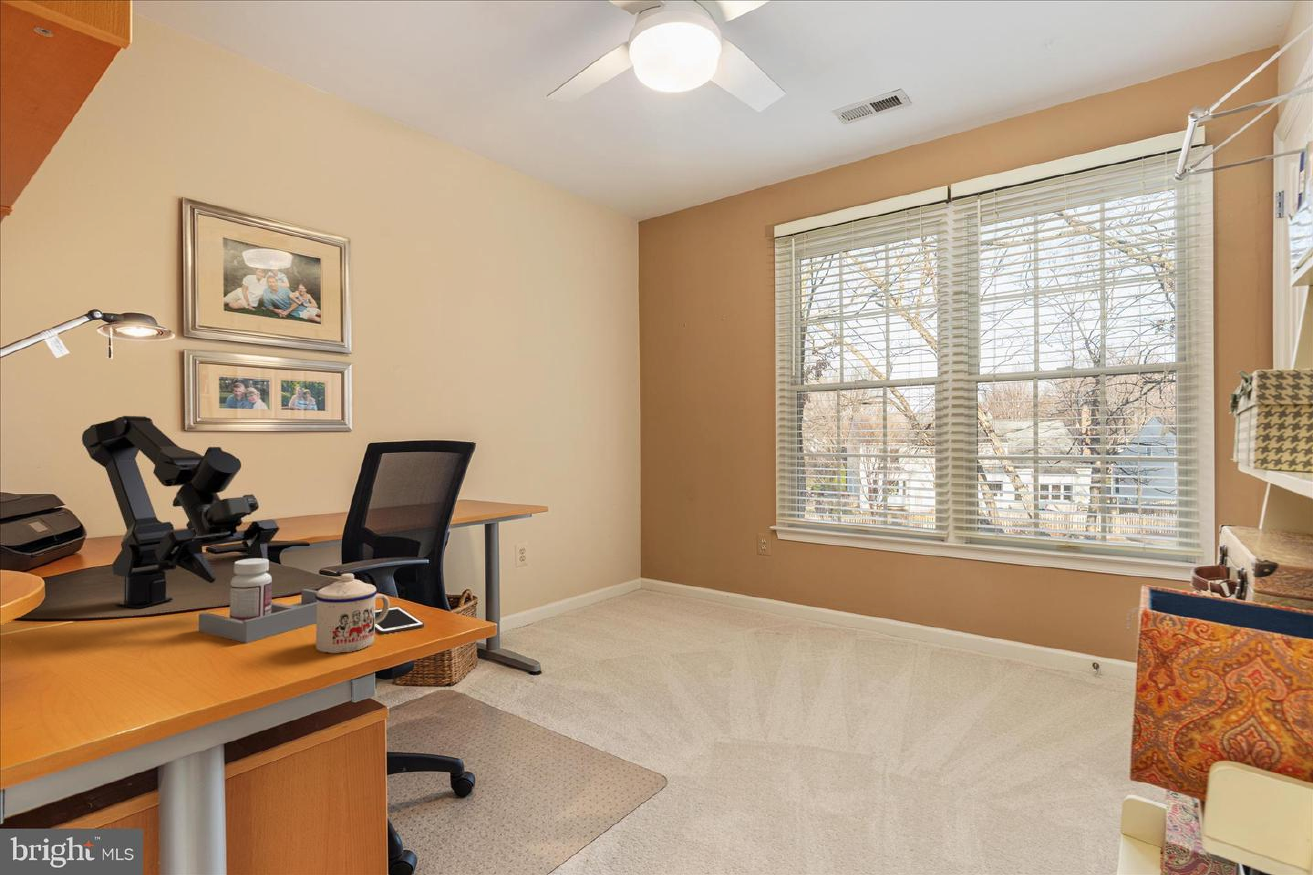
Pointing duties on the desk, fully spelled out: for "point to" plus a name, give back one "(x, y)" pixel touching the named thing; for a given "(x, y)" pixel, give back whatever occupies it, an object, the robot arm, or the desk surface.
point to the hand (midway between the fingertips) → (240, 576)
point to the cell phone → (397, 621)
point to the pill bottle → (250, 589)
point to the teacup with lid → (347, 615)
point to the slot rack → (263, 620)
